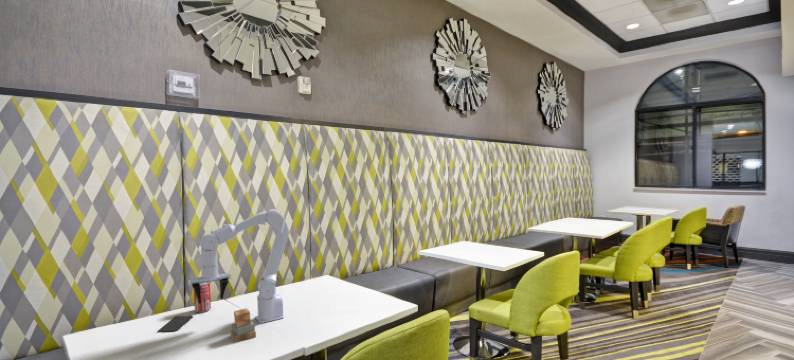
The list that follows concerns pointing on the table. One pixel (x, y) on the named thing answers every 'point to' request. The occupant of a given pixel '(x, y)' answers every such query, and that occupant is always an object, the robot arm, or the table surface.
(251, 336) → the tower base
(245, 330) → the tower top
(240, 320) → the terracotta block
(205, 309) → the soda can
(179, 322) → the phone
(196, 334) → the table surface
